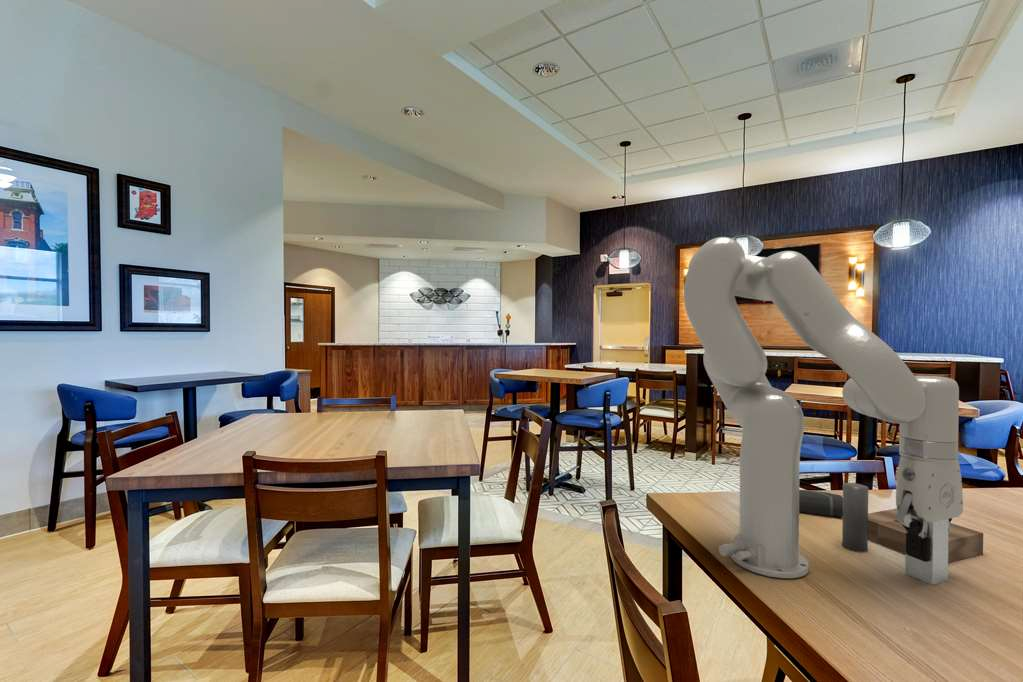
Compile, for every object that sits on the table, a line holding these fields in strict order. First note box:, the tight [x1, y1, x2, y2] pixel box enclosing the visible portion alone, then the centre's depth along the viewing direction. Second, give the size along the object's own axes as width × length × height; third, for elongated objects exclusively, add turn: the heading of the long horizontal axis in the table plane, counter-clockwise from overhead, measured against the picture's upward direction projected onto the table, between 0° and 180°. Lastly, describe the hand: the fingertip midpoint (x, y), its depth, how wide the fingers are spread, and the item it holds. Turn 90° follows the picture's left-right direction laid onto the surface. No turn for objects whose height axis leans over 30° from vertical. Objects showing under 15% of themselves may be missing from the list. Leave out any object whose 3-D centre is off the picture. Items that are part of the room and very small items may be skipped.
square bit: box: [904, 512, 949, 586], centre depth 81 cm, size 4×4×12 cm
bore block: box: [868, 507, 984, 564], centre depth 94 cm, size 14×14×4 cm
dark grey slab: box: [799, 489, 843, 518], centre depth 110 cm, size 5×19×20 cm
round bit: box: [841, 482, 869, 553], centre depth 92 cm, size 4×4×12 cm
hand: (926, 554), depth 81 cm, fingers closed on square bit, 4 cm apart
